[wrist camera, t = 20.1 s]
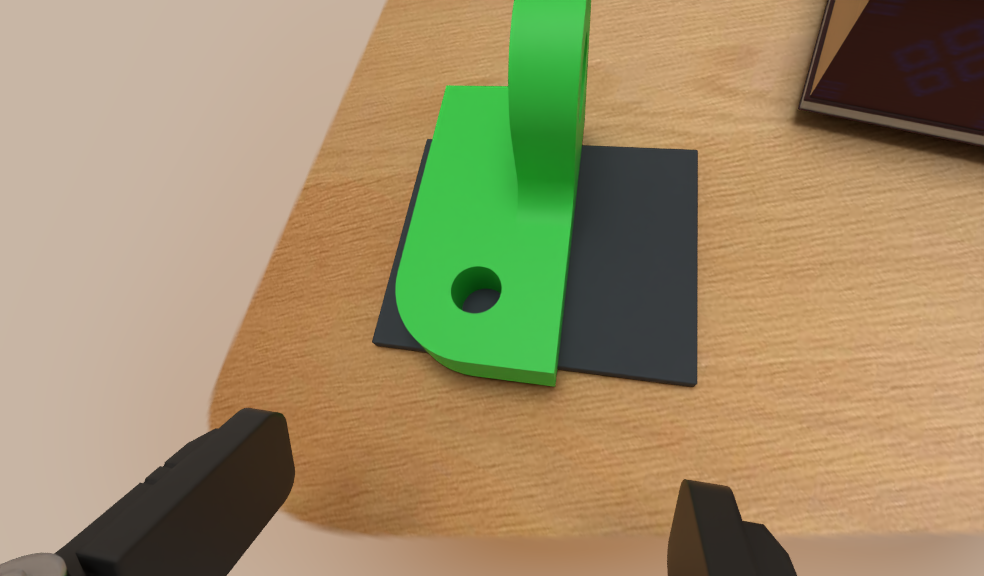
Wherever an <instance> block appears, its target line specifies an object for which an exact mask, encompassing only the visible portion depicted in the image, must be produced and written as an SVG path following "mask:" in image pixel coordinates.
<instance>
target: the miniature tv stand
mask: <svg viewBox="0 0 984 576" xmlns="http://www.w3.org/2000/svg"><path fill="white" fill-rule="evenodd" d="M798 109H799V110H804V111H809V112H814V113H819V114H823V115H828V116H833V117H838V118H843V119H848V120H853V121H858V122H863V123H868V124H873V125H878V126H883V127H888V128H893V129H897V130H902V131H907V132H912V133H917V134H922V135H927V136H932V137H937V138H942V139H947V140H952V141H957V142H962V143H967V144H972V145H976V146H981V147H984V0H828V1H827V5H826V8H825V12H824V16H823V19H822V23H821V27H820V30H819V34H818V38H817V41H816V45H815V49H814V52H813V56H812V60H811V63H810V67H809V71H808V74H807V78H806V82H805V85H804V89H803V93H802V96H801V100H800V104H799V107H798Z"/></svg>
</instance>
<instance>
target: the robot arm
mask: <svg viewBox="0 0 984 576" xmlns="http://www.w3.org/2000/svg"><path fill="white" fill-rule="evenodd" d="M294 478H295V467H294V461H293V456H292V450H291V445H290V439H289V433H288V428H287V422H286V419H285V417H284V416H283V414H281V413H278V412H271V411H265V410H259V409H253V408H244V409H242V410H240V411H239V412H237V413H236V414H235V415H234V416H233V417H232V418H230V419H229V420H228V421H227V422H226V423H225V424H223V425H222V426H221V427H220V428H219V429H214V430H212V431H210V432H208V433H206V434H204V435H202V436H200V437H199V438H197V439H195V440H193V441H191V442H189V443H187V444H186V445H185V446H184V447H183V448H181V449H180V450H179V451H178V452H177V453H175V454H174V455H173V456H172V457H171V458H169V459H168V460H167V461H166V462H165V464H164V466H163V467H161V466H160V467H159V468H157V469H156V470H155V471H154V472H153V473H151V474H150V475H149V476H148V477H147V478H146V479H145V482H144V483H139V484H138V485H137V486H136V487H135V488H133V489H132V490H131V491H130V492H129V493H127V494H126V495H125V496H124V497H123V498H121V499H120V500H119V501H118V502H117V503H115V504H114V505H113V506H112V507H111V508H109V509H108V510H107V511H106V512H105V513H103V514H102V515H101V516H100V517H99V518H97V519H96V520H95V521H94V522H93V523H91V524H90V525H89V526H88V527H87V528H85V529H84V530H83V531H82V532H81V533H79V534H78V535H77V536H76V537H75V538H73V539H72V540H71V541H70V542H69V543H67V544H66V545H65V546H64V547H62V548H61V549H60V550H59V551H57V552H56V553H55V554H52V553H36V554H30V555H26V556H22V557H19V558H16V559H13V560H10V561H8V562H5V563H3V564H1V565H0V576H227V574H228V573H229V572H230V570H231V569H232V568H233V567H234V565H235V564H236V563H237V561H238V560H239V559H240V558H241V556H242V555H243V554H244V552H245V551H246V550H247V549H248V548H249V546H250V545H251V544H252V542H253V541H254V540H255V539H256V537H257V536H258V535H259V534H260V532H261V531H262V530H263V528H264V527H265V526H266V525H267V523H268V522H269V521H270V520H271V518H272V517H273V516H274V514H275V513H276V512H277V511H278V509H279V508H280V507H281V506H282V504H283V503H284V502H285V500H286V499H287V497H288V495H289V493H290V491H291V489H292V486H293V483H294ZM667 565H668V566H667V567H668V576H797V575H796V572H795V569H794V567H793V564H792V562H791V560H790V557H789V555H788V553H787V552H786V551H785V550H784V548H783V547H782V546H781V545H780V544H779V542H778V541H777V540H776V539H775V538H774V536H773V535H772V534H771V533H770V532H769V530H768V529H767V528H766V527H765V526H764V525H763V524H758V523H752V522H746V521H742V518H741V515H740V512H739V509H738V506H737V503H736V500H735V497H734V495H733V492H732V490H731V489H730V487H728V486H723V485H717V484H711V483H705V482H698V481H692V480H686V479H684V480H683V481H682V483H681V486H680V490H679V495H678V500H677V504H676V509H675V514H674V518H673V523H672V528H671V532H670V537H669V544H668V555H667Z"/></svg>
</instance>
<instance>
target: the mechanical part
mask: <svg viewBox="0 0 984 576" xmlns="http://www.w3.org/2000/svg"><path fill="white" fill-rule="evenodd" d="M590 13H591V0H514V5H513V12H512V21H511V31H510V45H509V68H508V86H446V89H445V93H444V97H443V101H442V105H441V108H440V112H439V116H438V120H437V124H436V128H435V131H434V135H433V139H432V143H431V147H430V151H429V154H428V158H427V162H426V166H425V170H424V174H423V177H422V181H421V185H420V189H419V193H418V197H417V200H416V204H415V208H414V212H413V216H412V220H411V223H410V227H409V231H408V235H407V239H406V243H405V246H404V250H403V254H402V258H401V262H400V266H399V269H398V274H397V279H396V302H397V307H398V311H399V313H400V316H401V319H402V321H403V323H404V324H405V326H406V328H407V329H408V331H409V332H410V333H411V335H412V336H413V337H414V338H415V339H416V340H417V341H418V342H419V343H420V345H421V346H422V347H423V348H424V349H425V350H426V351H427V352H428V353H429V354H430V355H431V356H432V357H433V358H434V359H435V360H437V361H438V362H439V363H441V364H442V365H444V366H445V367H447V368H449V369H451V370H454V371H456V372H459V373H462V374H466V375H471V376H478V377H485V378H493V379H500V380H508V381H516V382H523V383H531V384H538V385H546V386H553V387H555V384H556V375H557V366H558V357H559V348H560V339H561V330H562V321H563V312H564V303H565V294H566V285H567V276H568V266H569V257H570V248H571V239H572V230H573V221H574V212H575V203H576V194H577V185H578V176H579V167H580V158H581V149H582V140H583V131H584V121H585V103H586V85H587V67H588V49H589V31H590ZM479 289H493V290H496V291H498V292H499V293H501V296H500V298H499V300H498V302H497V303H496V304H495V305H494V306H493V307H492V308H491V309H489V310H487V311H485V312H482V313H477V314H471V313H467V312H464V311H462V307H463V304H464V301H465V300H466V298H467V297H468V296H469V295H470V294H471V293H473V292H474V291H477V290H479Z"/></svg>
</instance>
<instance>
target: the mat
mask: <svg viewBox="0 0 984 576" xmlns="http://www.w3.org/2000/svg"><path fill="white" fill-rule="evenodd" d="M431 143H432V139H427V142H426V145H425V149H424V153H423V156H422V160H421V164H420V167H419V171H418V175H417V179H416V182H415V186H414V190H413V193H412V197H411V201H410V204H409V208H408V212H407V215H406V219H405V223H404V226H403V230H402V234H401V237H400V241H399V245H398V248H397V252H396V256H395V259H394V263H393V267H392V270H391V274H390V278H389V281H388V285H387V289H386V292H385V296H384V300H383V304H382V307H381V311H380V315H379V318H378V322H377V326H376V329H375V333H374V337H373V340H372V342H373V343H374V344H375V345H376V346H383V347H391V348H398V349H406V350H414V351H421V352H427V351H426V350H425V349H424V348H423V347H422V346H421V345H420V343H419V342H418V341H417V340H416V339H415V338H414V337H413V336H412V335H411V333H410V332H409V331H408V329H407V328H406V326H405V324H404V323H403V321H402V319H401V316H400V313H399V311H398V307H397V302H396V279H397V274H398V269H399V266H400V262H401V258H402V254H403V250H404V246H405V243H406V239H407V235H408V231H409V227H410V223H411V220H412V216H413V212H414V208H415V204H416V200H417V197H418V193H419V189H420V185H421V181H422V177H423V174H424V170H425V166H426V162H427V158H428V154H429V151H430V147H431ZM697 237H698V151H697V150H684V149H659V148H635V147H610V146H585V145H582V149H581V158H580V167H579V176H578V185H577V194H576V203H575V212H574V221H573V230H572V239H571V248H570V257H569V266H568V276H567V285H566V294H565V303H564V312H563V321H562V330H561V339H560V348H559V357H558V366H557V369H559V370H567V371H574V372H582V373H590V374H597V375H605V376H613V377H620V378H628V379H636V380H643V381H651V382H659V383H666V384H674V385H682V386H689V387H694V386H695V385H696V384H697ZM500 296H501V293H499V292H498V291H496V290H493V289H479V290H477V291H474V292H473V293H471V294H470V295H469V296H468V297H467V298H466V300H465V301H464V304H463V307H462V311H464V312H467V313H471V314H477V313H482V312H485V311H487V310H489V309H491V308H492V307H493V306H494V305H495V304H496V303H497V302H498V300H499V298H500Z"/></svg>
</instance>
